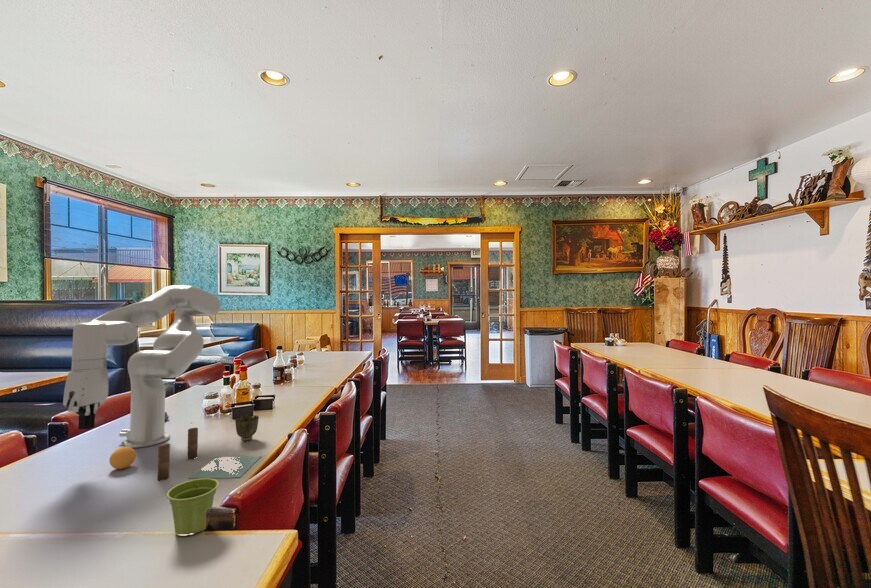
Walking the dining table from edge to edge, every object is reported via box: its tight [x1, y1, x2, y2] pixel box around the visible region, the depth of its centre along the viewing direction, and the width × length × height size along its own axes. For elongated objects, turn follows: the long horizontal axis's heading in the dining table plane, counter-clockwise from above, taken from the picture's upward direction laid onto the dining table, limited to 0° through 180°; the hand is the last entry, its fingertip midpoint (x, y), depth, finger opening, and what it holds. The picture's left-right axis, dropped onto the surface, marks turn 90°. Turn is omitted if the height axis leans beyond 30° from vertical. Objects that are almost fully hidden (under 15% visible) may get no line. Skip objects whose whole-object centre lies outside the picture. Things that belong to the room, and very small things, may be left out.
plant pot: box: [166, 478, 220, 535], centre depth 80 cm, size 9×9×9 cm
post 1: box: [157, 443, 171, 481], centre depth 103 cm, size 3×3×9 cm
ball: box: [109, 446, 137, 470], centre depth 109 cm, size 6×6×6 cm
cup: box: [234, 414, 260, 443], centre depth 131 cm, size 8×7×8 cm
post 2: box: [187, 427, 199, 460], centre depth 116 cm, size 3×3×9 cm
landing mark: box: [188, 455, 263, 480], centre depth 110 cm, size 14×14×1 cm
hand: (86, 428), depth 108 cm, fingers closed
